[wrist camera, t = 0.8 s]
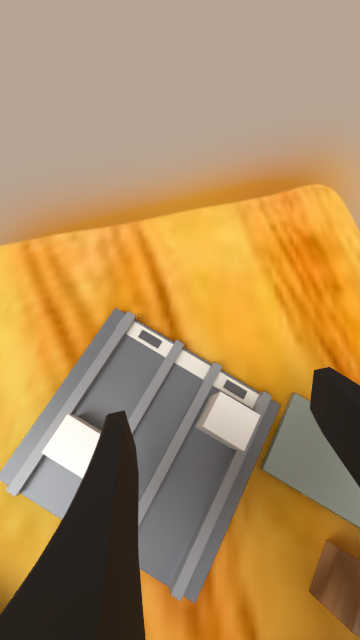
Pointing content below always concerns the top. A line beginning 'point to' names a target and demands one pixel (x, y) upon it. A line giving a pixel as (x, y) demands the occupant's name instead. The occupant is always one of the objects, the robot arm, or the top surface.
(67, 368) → the top surface
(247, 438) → the switch tab
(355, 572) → the brown rectangular block
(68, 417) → the switch tab
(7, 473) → the switch panel
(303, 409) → the mat
